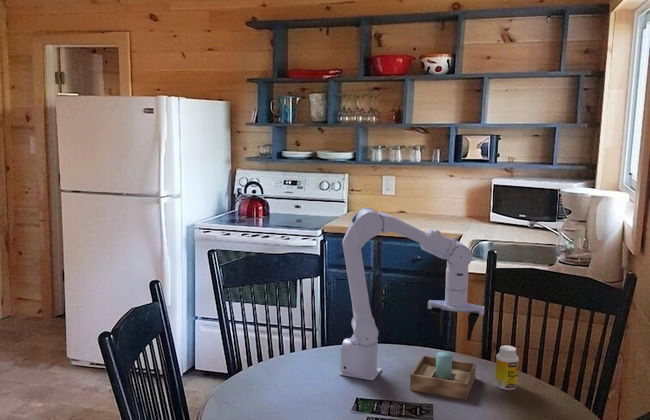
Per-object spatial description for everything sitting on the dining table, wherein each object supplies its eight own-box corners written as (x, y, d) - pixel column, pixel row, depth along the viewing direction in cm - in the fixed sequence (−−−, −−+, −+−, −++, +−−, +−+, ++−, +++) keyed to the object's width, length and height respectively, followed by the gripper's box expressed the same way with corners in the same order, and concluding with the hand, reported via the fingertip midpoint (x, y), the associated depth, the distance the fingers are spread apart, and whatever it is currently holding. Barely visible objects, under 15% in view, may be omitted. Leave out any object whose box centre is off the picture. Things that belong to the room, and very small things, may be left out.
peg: (433, 385, 152) (434, 355, 151) (438, 379, 155) (439, 350, 154) (448, 388, 150) (449, 358, 149) (453, 383, 153) (454, 353, 152)
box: (410, 389, 149) (410, 374, 148) (422, 369, 162) (423, 355, 161) (466, 399, 144) (467, 384, 143) (475, 378, 156) (475, 363, 156)
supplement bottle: (507, 392, 148) (509, 353, 146) (489, 384, 152) (491, 346, 151) (521, 387, 151) (524, 349, 150) (504, 380, 155) (506, 342, 154)
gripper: (426, 288, 156) (424, 338, 157) (482, 294, 150) (480, 346, 152) (431, 282, 162) (430, 330, 164) (486, 288, 157) (483, 337, 158)
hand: (454, 337), depth 158 cm, fingers open, 7 cm apart
